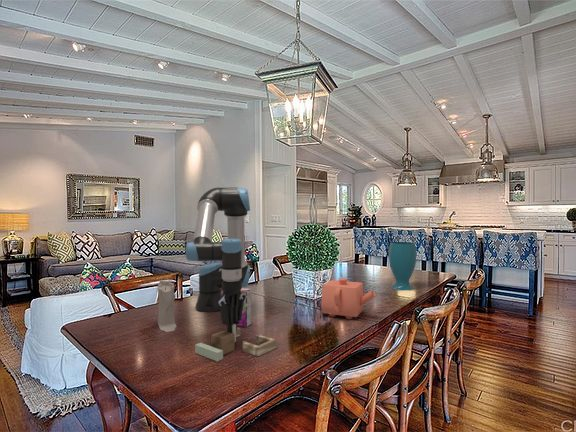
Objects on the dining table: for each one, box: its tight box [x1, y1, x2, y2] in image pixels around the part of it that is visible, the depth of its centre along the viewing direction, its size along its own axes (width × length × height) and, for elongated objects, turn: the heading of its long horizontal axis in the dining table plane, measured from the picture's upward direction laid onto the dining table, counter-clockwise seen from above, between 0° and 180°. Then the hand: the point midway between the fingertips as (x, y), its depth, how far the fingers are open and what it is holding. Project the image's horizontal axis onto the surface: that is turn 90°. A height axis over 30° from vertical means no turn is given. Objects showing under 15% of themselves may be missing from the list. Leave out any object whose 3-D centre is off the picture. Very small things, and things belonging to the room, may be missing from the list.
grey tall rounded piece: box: [157, 280, 177, 333], centre depth 154 cm, size 7×14×20 cm, turn 27°
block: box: [210, 330, 236, 356], centre depth 128 cm, size 6×6×6 cm
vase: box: [388, 241, 418, 291], centre depth 230 cm, size 17×17×30 cm
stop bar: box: [194, 342, 224, 362], centre depth 123 cm, size 12×2×3 cm, turn 53°
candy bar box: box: [224, 287, 252, 328], centre depth 157 cm, size 11×5×16 cm, turn 71°
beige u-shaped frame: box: [236, 327, 277, 357], centre depth 134 cm, size 22×11×3 cm, turn 53°
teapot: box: [320, 277, 377, 320], centre depth 171 cm, size 25×23×18 cm
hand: (232, 341), depth 132 cm, fingers closed
